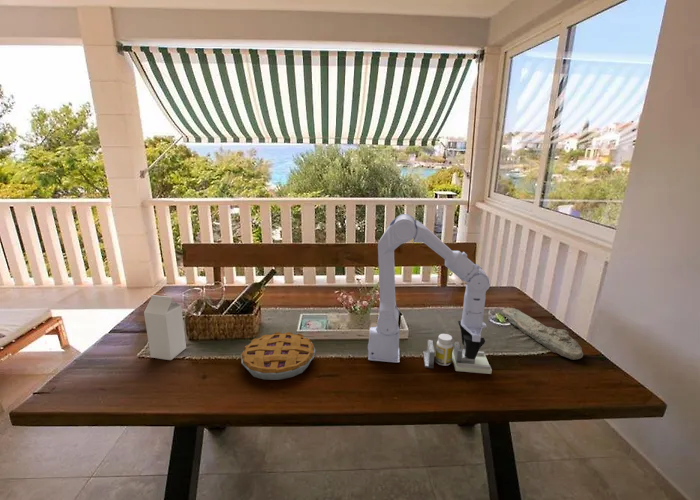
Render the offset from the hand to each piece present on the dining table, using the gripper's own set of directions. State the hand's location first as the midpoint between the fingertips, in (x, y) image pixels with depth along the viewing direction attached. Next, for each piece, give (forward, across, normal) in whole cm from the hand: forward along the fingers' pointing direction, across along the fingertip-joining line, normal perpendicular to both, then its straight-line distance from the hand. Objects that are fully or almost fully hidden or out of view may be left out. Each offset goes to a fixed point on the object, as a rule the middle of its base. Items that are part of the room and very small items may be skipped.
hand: (468, 351), depth 105 cm
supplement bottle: (+4, 0, +7) cm, 8 cm away
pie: (+5, -7, +56) cm, 57 cm away
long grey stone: (+5, +23, -28) cm, 37 cm away
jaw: (+4, 0, +11) cm, 12 cm away
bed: (+4, 0, -1) cm, 4 cm away
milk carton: (+4, -8, +91) cm, 92 cm away
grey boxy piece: (+3, 0, +1) cm, 3 cm away
